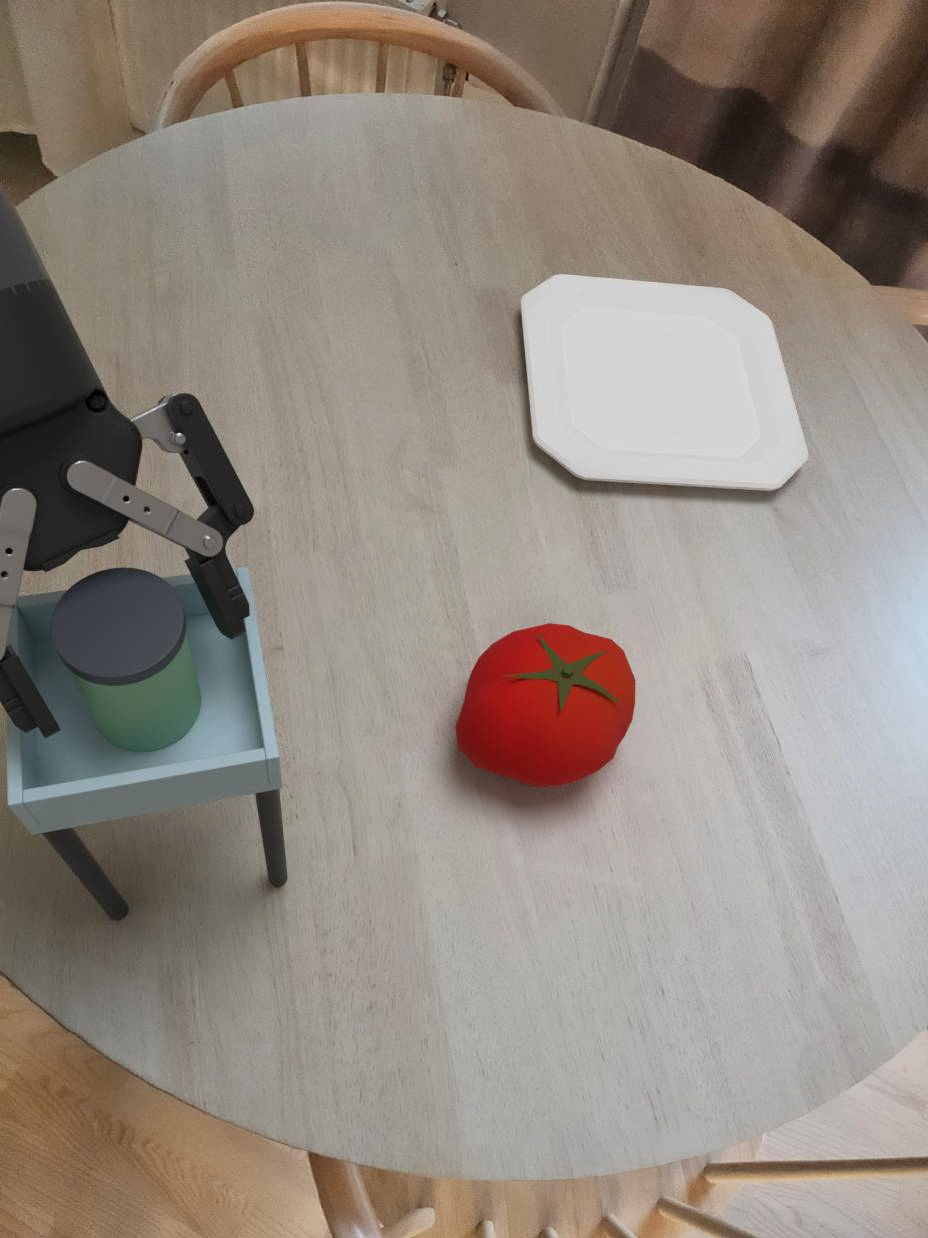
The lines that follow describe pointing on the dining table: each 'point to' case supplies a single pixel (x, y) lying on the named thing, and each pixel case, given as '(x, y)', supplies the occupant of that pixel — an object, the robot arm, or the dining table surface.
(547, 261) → the dining table surface
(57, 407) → the robot arm
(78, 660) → the plastic tub
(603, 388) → the plate
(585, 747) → the tomato
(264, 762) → the tray
